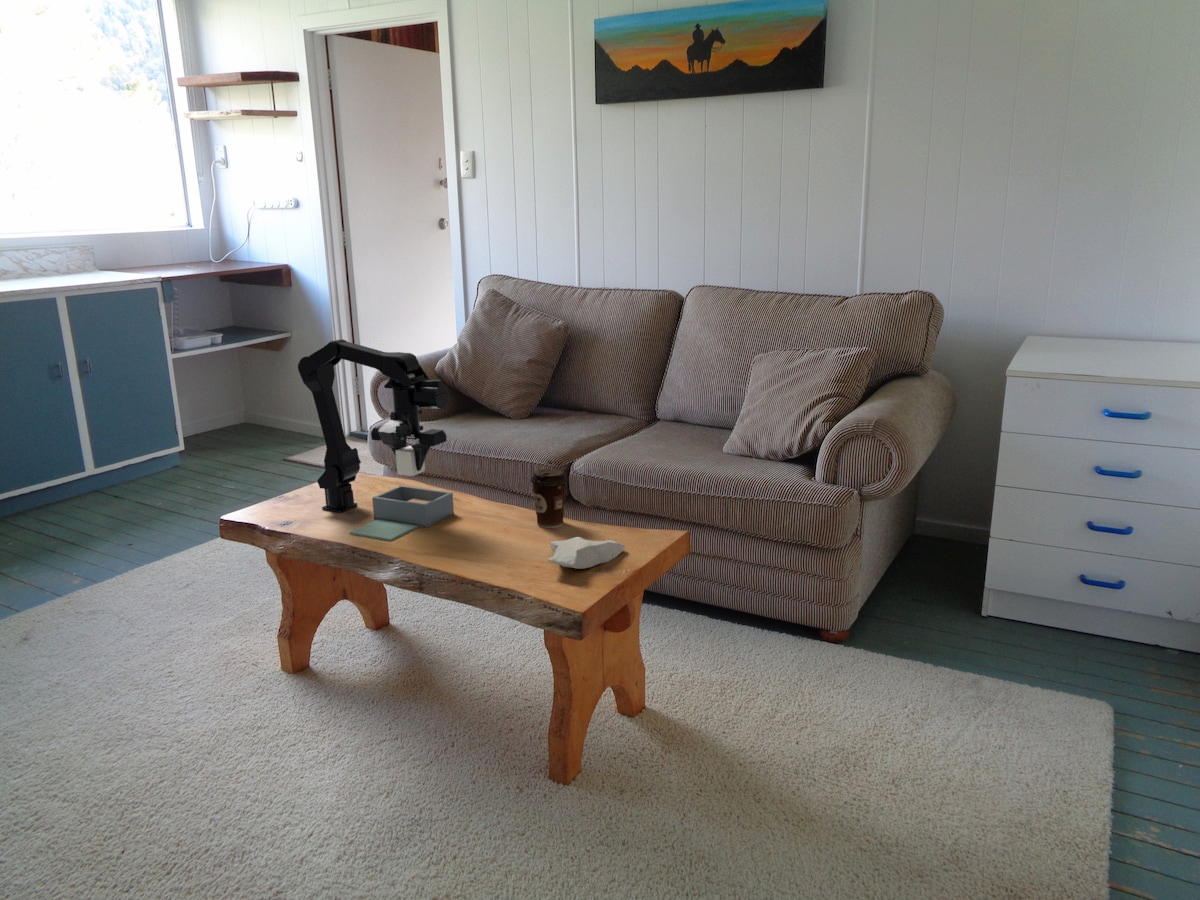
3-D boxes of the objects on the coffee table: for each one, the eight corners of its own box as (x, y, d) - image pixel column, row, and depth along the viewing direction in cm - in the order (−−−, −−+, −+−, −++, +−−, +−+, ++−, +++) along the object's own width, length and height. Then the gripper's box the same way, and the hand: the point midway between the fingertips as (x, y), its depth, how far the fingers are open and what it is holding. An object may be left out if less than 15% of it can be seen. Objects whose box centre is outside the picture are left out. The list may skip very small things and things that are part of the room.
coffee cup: (538, 532, 213) (535, 478, 210) (527, 521, 221) (525, 469, 218) (573, 526, 217) (571, 474, 213) (561, 516, 224) (559, 465, 221)
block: (397, 474, 222) (395, 450, 221) (410, 469, 227) (408, 445, 225) (412, 476, 221) (410, 452, 219) (425, 470, 225) (423, 447, 223)
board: (350, 534, 215) (349, 532, 215) (377, 521, 224) (377, 519, 223) (390, 541, 210) (390, 539, 210) (417, 527, 218) (417, 525, 218)
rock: (517, 569, 193) (570, 579, 183) (515, 548, 192) (569, 557, 183) (583, 547, 209) (635, 555, 199) (582, 527, 208) (634, 535, 199)
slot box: (374, 518, 225) (372, 497, 224) (402, 505, 235) (400, 485, 233) (427, 527, 218) (425, 505, 217) (453, 513, 228) (452, 492, 226)
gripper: (353, 410, 217) (358, 473, 221) (416, 416, 208) (421, 482, 212) (383, 401, 226) (388, 462, 230) (445, 406, 218) (449, 470, 222)
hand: (410, 469), depth 223 cm, fingers closed on block, 4 cm apart
